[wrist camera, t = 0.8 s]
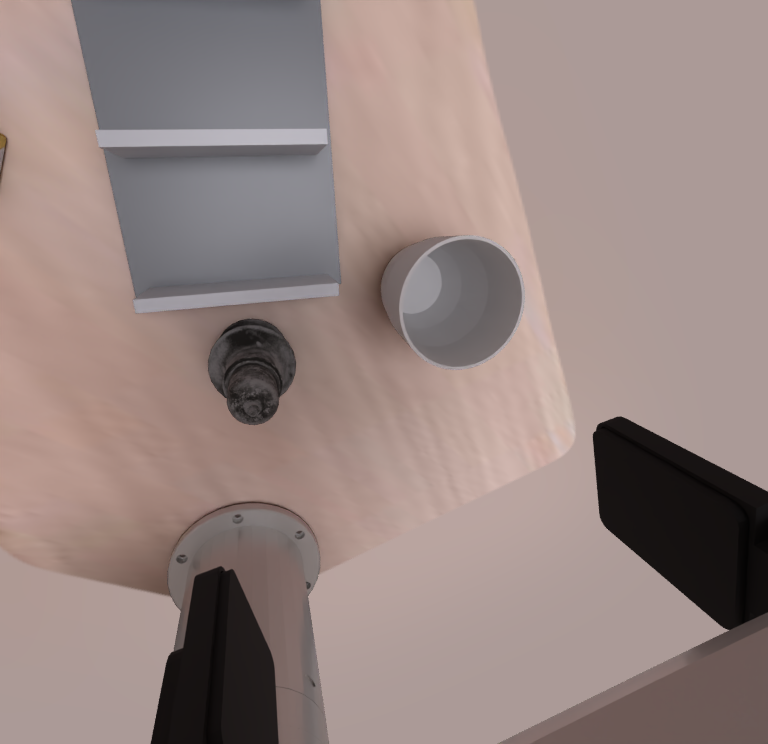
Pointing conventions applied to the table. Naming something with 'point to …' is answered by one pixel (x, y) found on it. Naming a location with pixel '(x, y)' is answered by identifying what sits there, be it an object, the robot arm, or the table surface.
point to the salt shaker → (252, 369)
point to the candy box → (2, 148)
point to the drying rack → (215, 147)
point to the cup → (454, 299)
